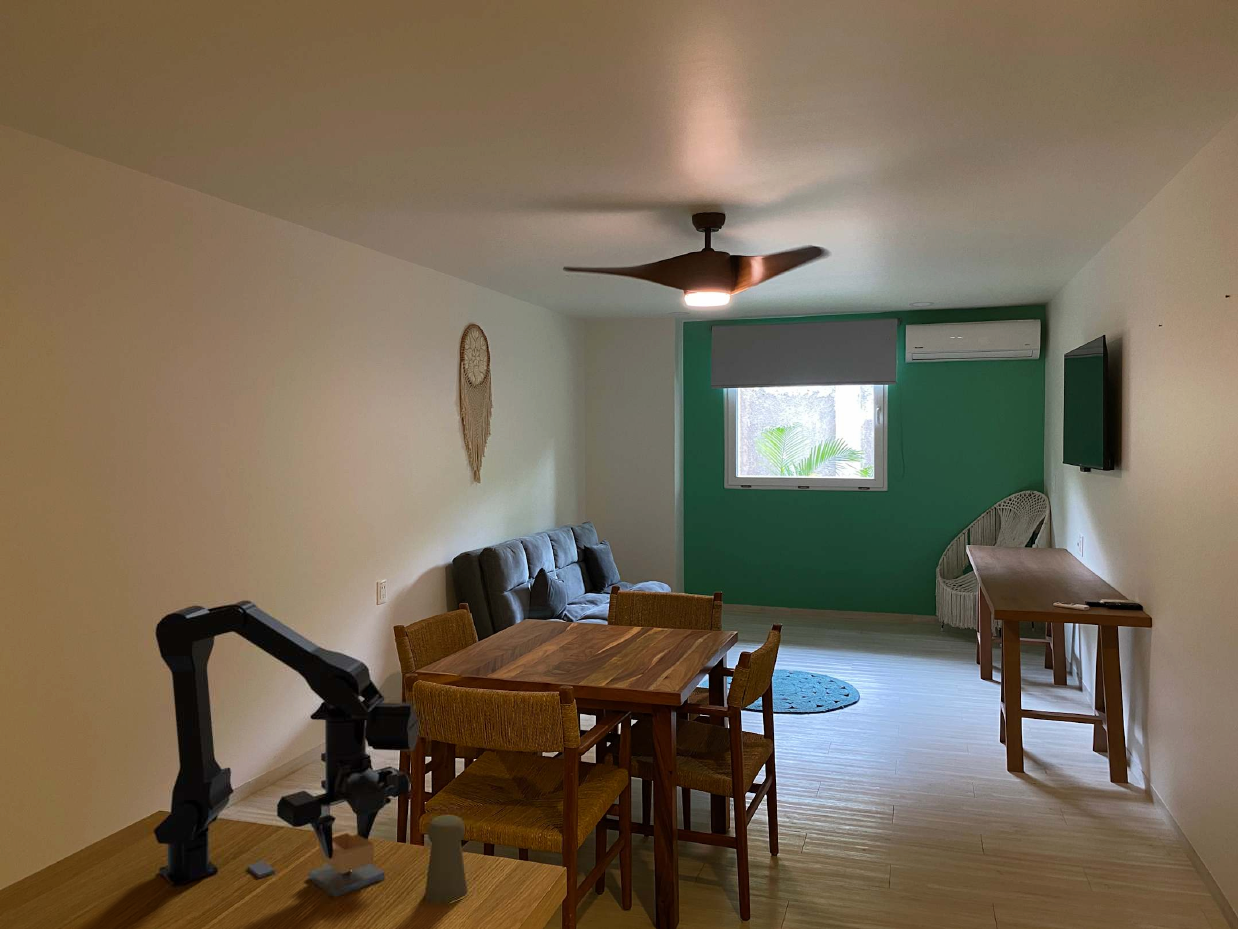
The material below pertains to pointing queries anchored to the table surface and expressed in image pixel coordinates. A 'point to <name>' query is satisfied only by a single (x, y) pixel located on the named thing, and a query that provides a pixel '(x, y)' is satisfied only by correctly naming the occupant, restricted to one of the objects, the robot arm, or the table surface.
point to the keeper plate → (345, 878)
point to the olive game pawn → (445, 860)
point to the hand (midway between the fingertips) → (345, 852)
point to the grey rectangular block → (261, 869)
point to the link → (349, 851)
